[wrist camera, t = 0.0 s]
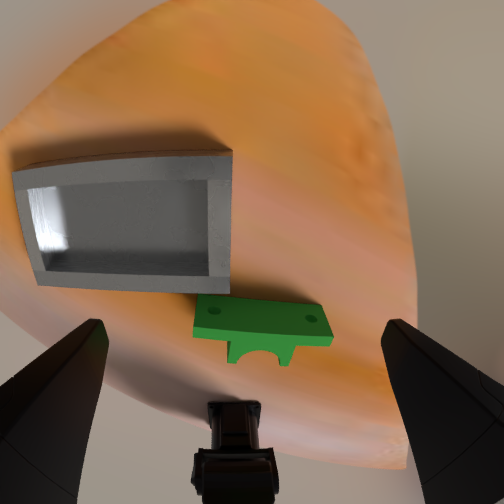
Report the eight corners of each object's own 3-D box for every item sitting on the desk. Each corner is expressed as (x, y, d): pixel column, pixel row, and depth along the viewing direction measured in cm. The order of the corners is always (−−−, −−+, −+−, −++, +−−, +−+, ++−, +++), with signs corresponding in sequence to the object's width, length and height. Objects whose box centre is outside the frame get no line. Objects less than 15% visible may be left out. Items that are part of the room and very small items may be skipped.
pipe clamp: (195, 323, 27) (190, 359, 23) (198, 291, 26) (192, 326, 22) (310, 333, 29) (320, 368, 25) (321, 304, 27) (334, 337, 23)
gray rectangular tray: (229, 274, 25) (229, 293, 22) (51, 269, 23) (37, 285, 21) (232, 150, 20) (232, 156, 18) (31, 163, 19) (11, 172, 16)
